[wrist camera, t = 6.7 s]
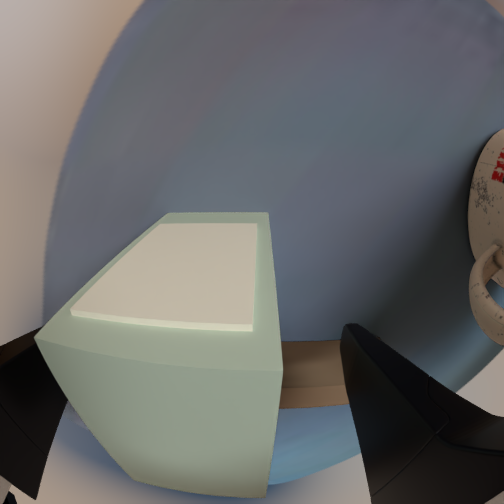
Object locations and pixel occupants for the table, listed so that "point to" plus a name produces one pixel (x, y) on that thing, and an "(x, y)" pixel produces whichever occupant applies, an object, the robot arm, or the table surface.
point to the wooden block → (312, 375)
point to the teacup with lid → (487, 236)
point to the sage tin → (179, 354)
